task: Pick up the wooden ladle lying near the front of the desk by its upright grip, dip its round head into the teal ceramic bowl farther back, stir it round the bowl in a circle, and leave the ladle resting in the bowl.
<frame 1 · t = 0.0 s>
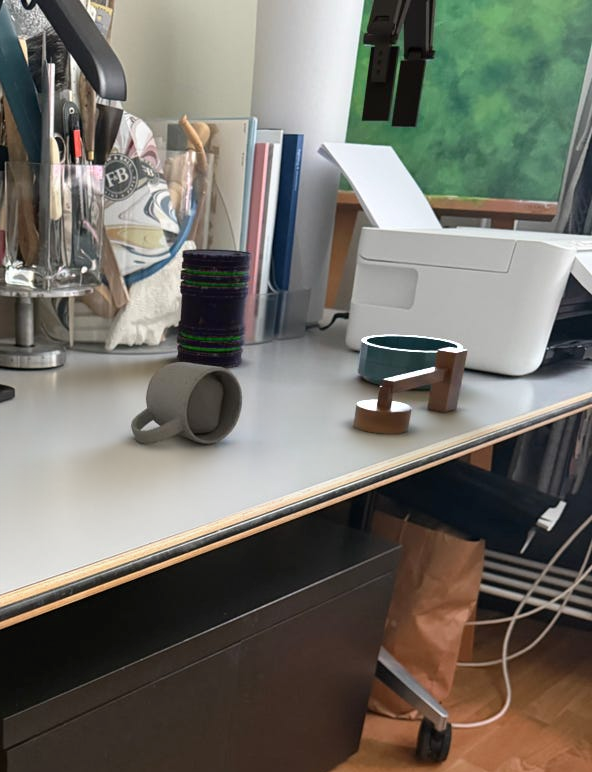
hand: (390, 124, 102), 30 cm above the table, tool pointing down, fingers open, 13 cm apart
storage jar: (209, 362, 138), on the table
bowl: (405, 380, 129), on the table
ladle: (380, 427, 105), on the table
ceramic mug: (180, 439, 99), on the table
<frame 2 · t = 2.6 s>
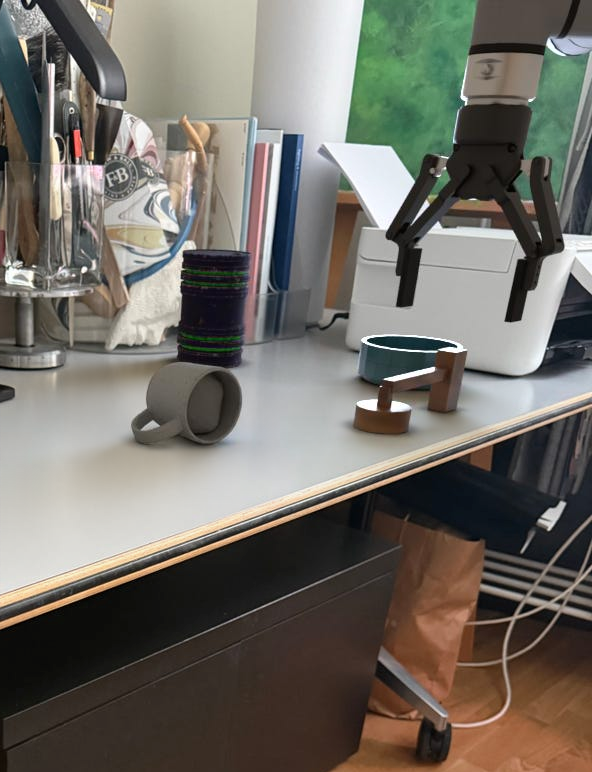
hand: (456, 314, 109), 11 cm above the table, tool pointing down, fingers open, 13 cm apart
nothing on the table moved.
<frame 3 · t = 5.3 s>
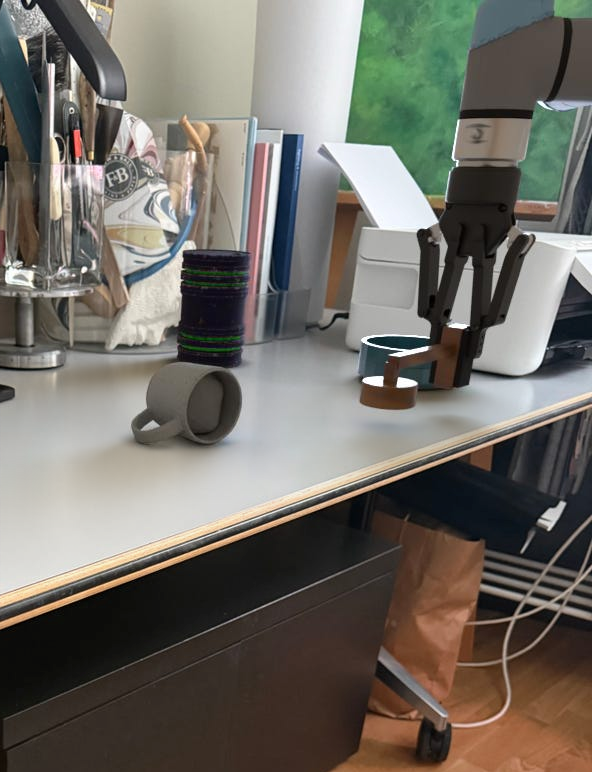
hand: (448, 383, 112), 3 cm above the table, tool pointing down, fingers closed on ladle, 2 cm apart
ladle: (386, 403, 104), point 3 cm above the table, touching gripper
everything else where it was.
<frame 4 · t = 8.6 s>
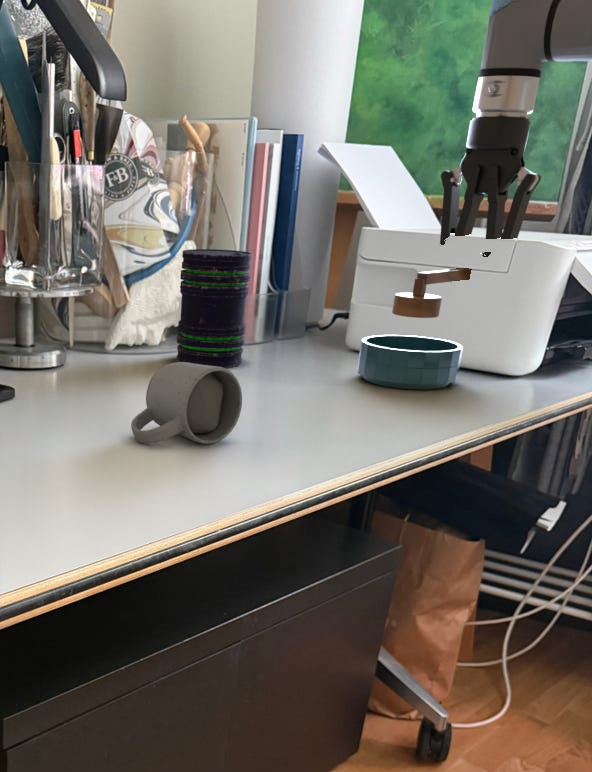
hand: (465, 304, 133), 9 cm above the table, tool pointing down, fingers closed on ladle, 2 cm apart
ladle: (415, 314, 125), point 9 cm above the table, touching gripper
everything else where it was.
when the fingers open (1 cm above the table, at t = 12.0 s): ladle stays where it is, resting on bowl.
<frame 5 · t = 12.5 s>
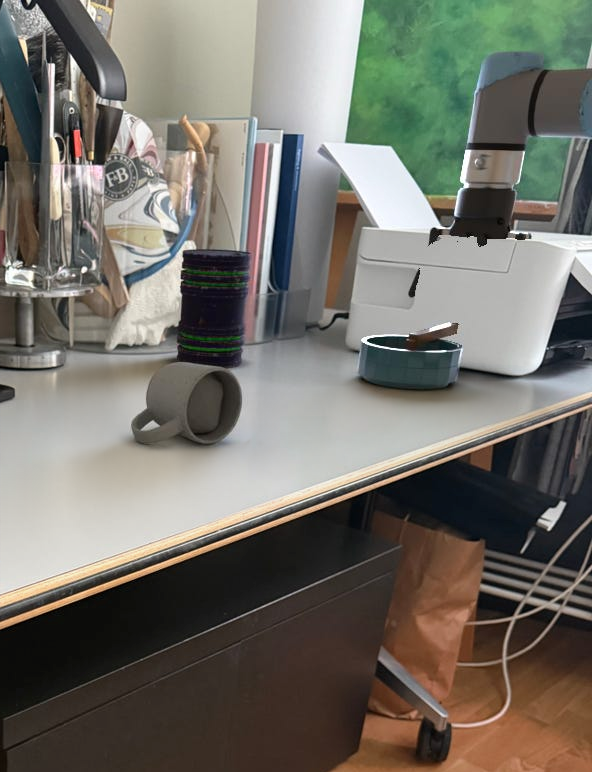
hand: (456, 355, 137), 2 cm above the table, tool pointing down, fingers open, 10 cm apart
ladle: (407, 373, 129), point 1 cm above the table, touching bowl
everything else where it was.
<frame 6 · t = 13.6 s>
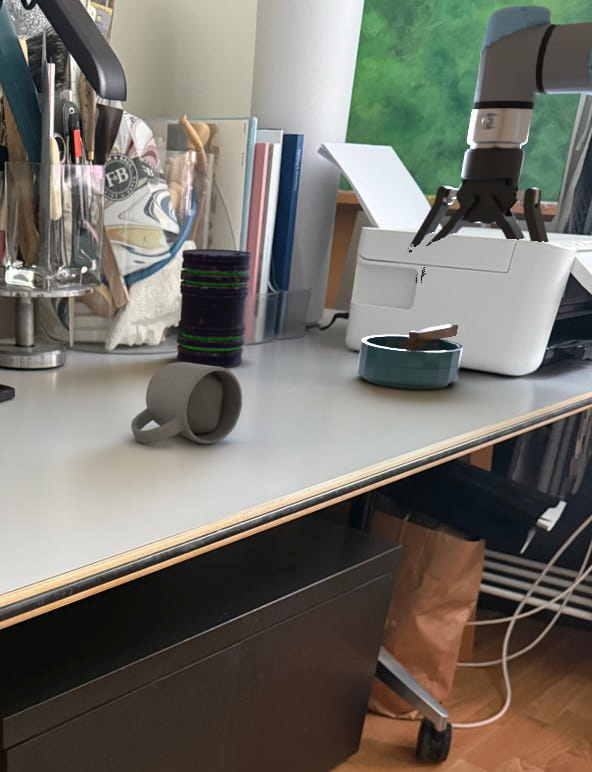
hand: (466, 314, 134), 8 cm above the table, tool pointing down, fingers open, 13 cm apart
nothing on the table moved.
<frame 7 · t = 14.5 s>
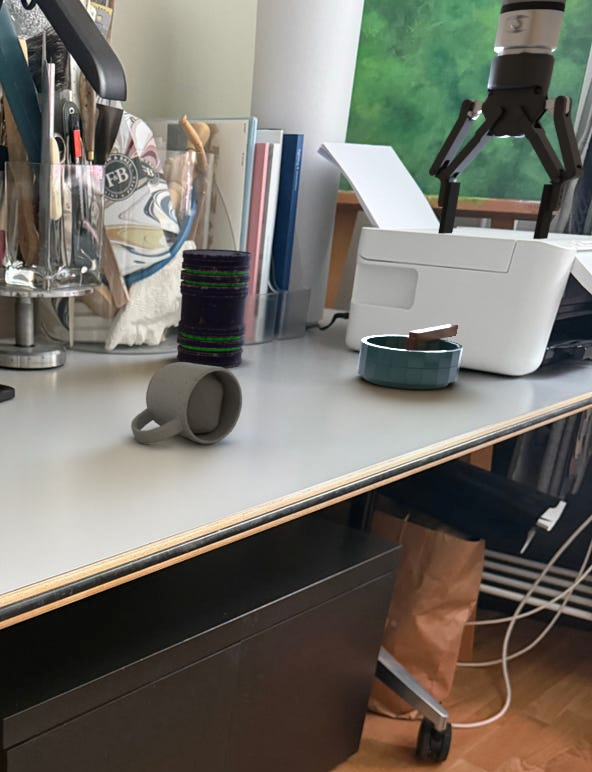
hand: (491, 236, 128), 18 cm above the table, tool pointing down, fingers open, 13 cm apart
nothing on the table moved.
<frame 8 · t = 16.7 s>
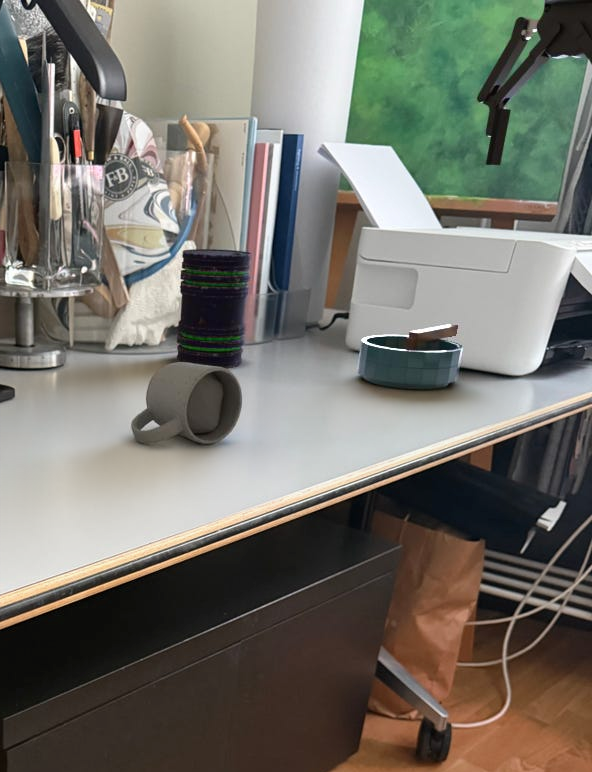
hand: (543, 166, 120), 27 cm above the table, tool pointing down, fingers open, 13 cm apart
nothing on the table moved.
at the end: ladle inside the target area in the bowl (0.2 cm from its centre), point 1.2 cm above the bowl's base; ladle touching bowl; the gripper is holding nothing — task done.
